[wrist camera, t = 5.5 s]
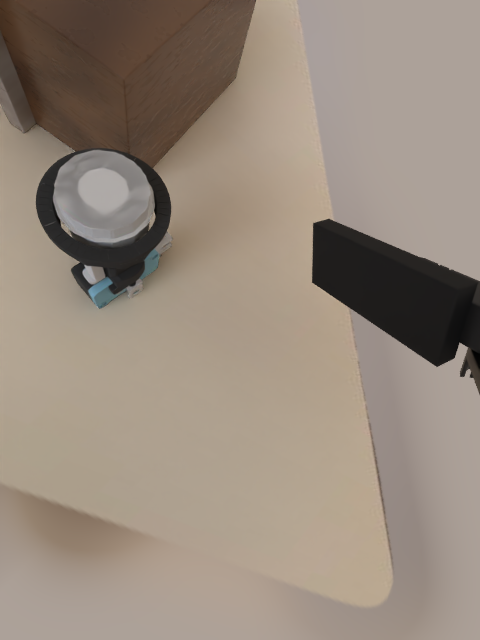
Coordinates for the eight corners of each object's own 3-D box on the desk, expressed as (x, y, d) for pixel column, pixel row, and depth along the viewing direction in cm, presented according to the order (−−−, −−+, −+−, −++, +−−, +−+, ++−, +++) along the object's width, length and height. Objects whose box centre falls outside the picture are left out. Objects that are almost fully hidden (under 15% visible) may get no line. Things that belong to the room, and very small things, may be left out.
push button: (144, 216, 25) (142, 98, 16) (194, 274, 25) (222, 190, 16) (58, 270, 23) (-4, 169, 13) (113, 334, 23) (88, 278, 13)
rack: (9, 122, 24) (-101, -109, 14) (153, 4, 30) (156, -230, 19) (122, 201, 25) (102, 39, 14) (242, 70, 30) (295, -119, 20)
